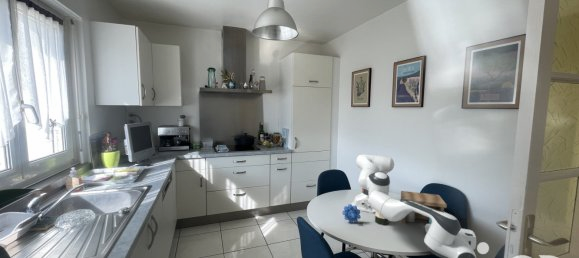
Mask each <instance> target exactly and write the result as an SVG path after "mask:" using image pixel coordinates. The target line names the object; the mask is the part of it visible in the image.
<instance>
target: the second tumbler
mask: <svg viewBox="0 0 579 258" xmlns="http://www.w3.org/2000/svg"><path fill="white" fill-rule="evenodd" d="M415 220H416V218H415V211H412V212H410V213H409V214H408V215H406V217H405V222H411V223H413V222H415Z"/></svg>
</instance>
